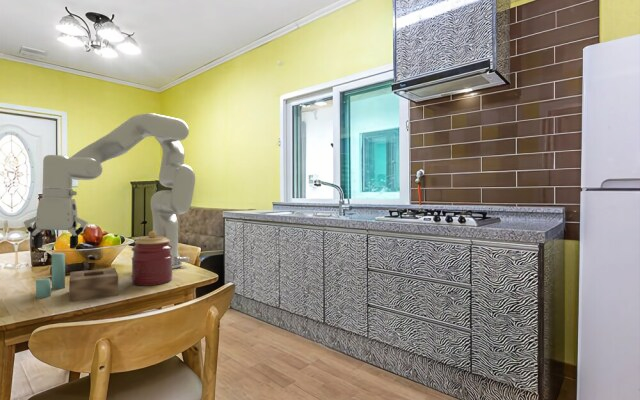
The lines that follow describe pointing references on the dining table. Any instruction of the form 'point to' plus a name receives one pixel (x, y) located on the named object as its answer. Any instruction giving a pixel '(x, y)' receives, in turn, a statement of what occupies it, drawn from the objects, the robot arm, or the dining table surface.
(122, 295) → the dining table surface
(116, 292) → the socket block
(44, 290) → the short dowel
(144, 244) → the canister
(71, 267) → the bolt
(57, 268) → the tall dowel
